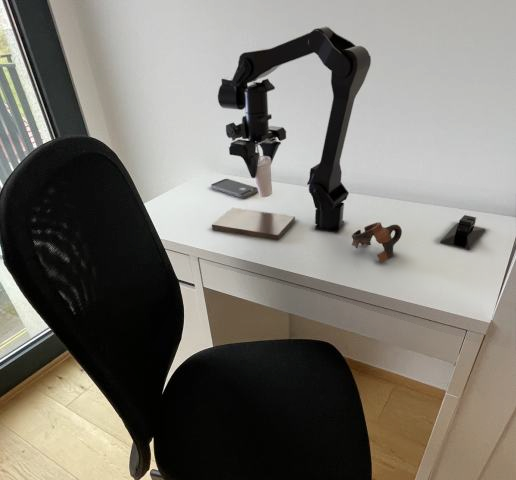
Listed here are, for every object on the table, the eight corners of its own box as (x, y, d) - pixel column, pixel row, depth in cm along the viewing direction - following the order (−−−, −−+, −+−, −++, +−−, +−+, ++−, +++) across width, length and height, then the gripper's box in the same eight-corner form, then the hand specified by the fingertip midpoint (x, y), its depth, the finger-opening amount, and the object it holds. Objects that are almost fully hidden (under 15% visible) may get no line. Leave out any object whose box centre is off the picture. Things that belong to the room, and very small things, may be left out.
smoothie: (276, 187, 119) (268, 137, 109) (276, 197, 115) (267, 146, 105) (255, 190, 120) (245, 142, 110) (254, 201, 116) (243, 151, 106)
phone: (209, 187, 136) (242, 198, 128) (209, 184, 136) (242, 195, 127) (226, 181, 140) (259, 191, 131) (226, 178, 140) (259, 188, 131)
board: (295, 221, 113) (295, 216, 112) (278, 240, 106) (277, 235, 105) (232, 212, 121) (232, 207, 120) (212, 229, 113) (211, 224, 112)
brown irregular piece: (372, 270, 93) (358, 237, 90) (353, 268, 102) (341, 238, 99) (415, 245, 94) (403, 212, 91) (393, 245, 103) (382, 215, 100)
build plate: (469, 250, 96) (474, 232, 93) (438, 243, 100) (442, 225, 97) (485, 229, 103) (491, 212, 100) (456, 223, 107) (460, 206, 103)
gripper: (252, 101, 112) (256, 160, 123) (209, 117, 101) (217, 180, 112) (286, 104, 107) (287, 165, 117) (244, 120, 96) (249, 187, 106)
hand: (260, 174), depth 113 cm, fingers closed on smoothie, 6 cm apart
